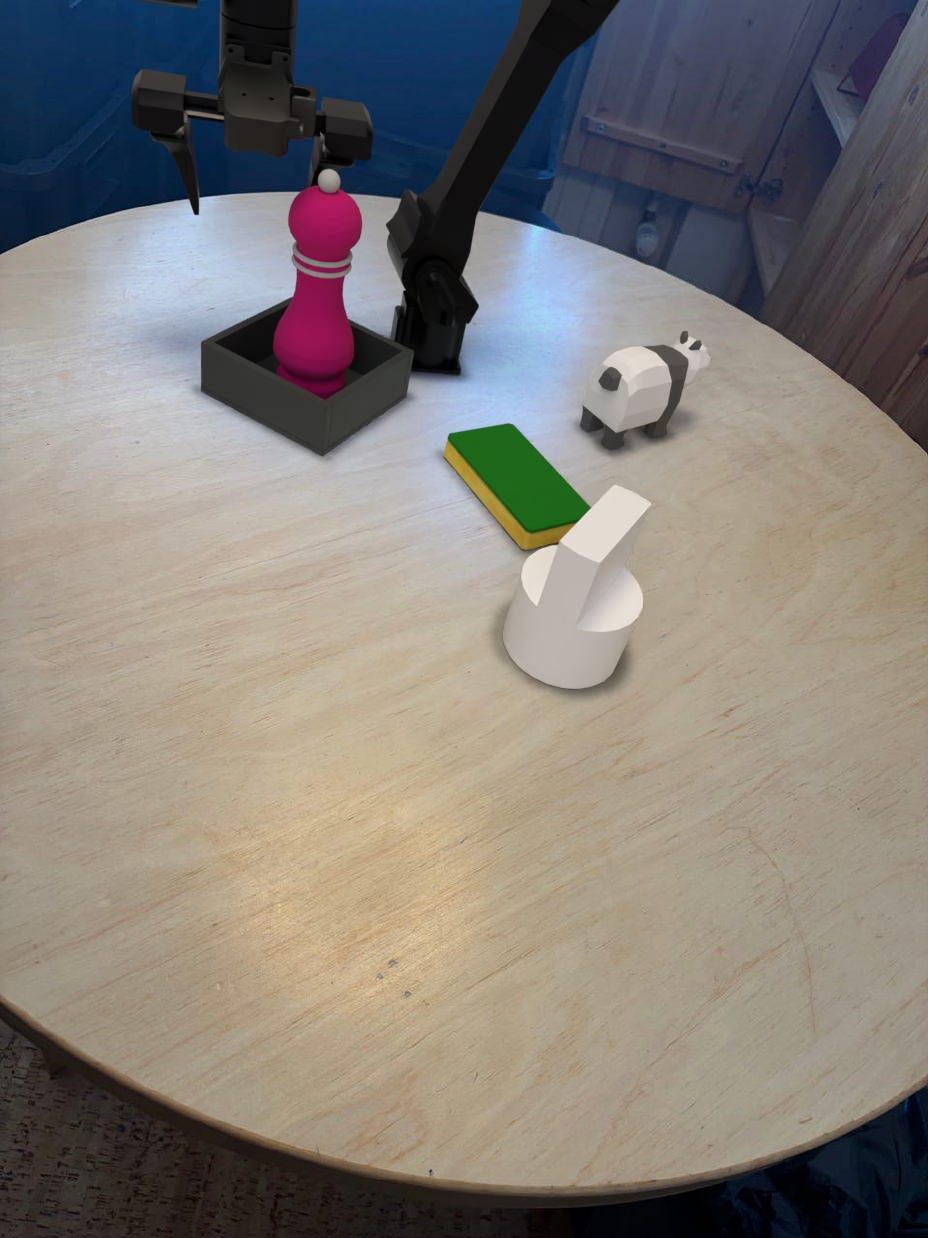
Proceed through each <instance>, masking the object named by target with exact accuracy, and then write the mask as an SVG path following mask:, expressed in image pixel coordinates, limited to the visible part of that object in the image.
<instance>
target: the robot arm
mask: <svg viewBox="0 0 928 1238" xmlns="http://www.w3.org/2000/svg"><path fill="white" fill-rule="evenodd" d="M136 1H137V2H146V3H151V4H159V5H166V6H173V7H180V8H189V9H193V10H197V9H198V3H199V0H136ZM200 1H201V2H202V1H203V2H205V1H206V0H200ZM219 1H220V2H219V3H220V4H219V59H218V60H219V68H218V69H219V70H218V71H219V72H218V74H217V75H218V76H217V77H218V78H217V94H211V93H204V92H197V91H191V90H187V89H188V83H187V75H186V74H185V75H184V74H177V73H172V72H165V71H159V70H154V69H153V70H152V69H146V68H142V69H141V70H140V71H139V72H138V73H137V74H136V75H135V76H134V79H133V84H132V88H131V93H130V108H131V109H130V111H131V126H132V127H133V128H134V129H138V130H141V131H147V132H149V136H150V139H151V140H152V141H154V142H157V143H162V144H163V145H164V147H166V149H167V150H168V151H169V153H170V154H171V156H172V159H173V160H174V163H175V164H176V167H177V169H178V171H179V175H180V177H181V180H182V183H183V186H184V189H185V192H186V195H187V198H188V201H189V204H190V207H191V209H192V213H193V214H194V216H200V185H199V177H198V176H199V175H198V167H197V159H196V158H197V157H196V150H195V142H194V132H193V124H192V123H193V122H192V119H193V120H199V121H205V122H211V123H212V122H213V123H220V124H223V144H224V146H225V147H226V148H227V149H229V150H230V151H232V152H236V153H244V152H252V153H260V154H265V155H268V156H269V157H273V158H282V157H284V156H286V155H287V154H288V151H289V141H290V140H291V141H300V142H303V141H304V140H303V139H307V140H313V139H314V140H313V145H312V150H311V157H310V162H309V168H308V174H307V179H306V185H305V189H306V188H309V187H312V186H319V184H318V177H319V175H320V173H321V172H322V171H323V170H326V169H331V170H334V171H336V172H337V173H338V171H339V170H341V169H342V168H347V169H349V168H350V169H351V168H353V167H354V163H355V161H362V162H365V161H369V160H371V158H372V157H371V156H372V150H373V143H374V142H373V140H374V127H373V124H372V123H373V122H372V119H371V116H370V115H371V114H370V112H369V110H368V109H367V107H366V106H365V104H364V102H359V101H354V100H353V101H352V100H346V99H339V98H332V97H328V96H327V97H326V96H322V99H321V105H320V110H317V108H318V107H317V104H318V92H317V91H318V89H317V88H316V87H315V86H314V87H313V86H306V85H302V84H295V82H294V77H295V75H294V74H295V58H296V42H297V28H298V27H297V24H298V12H299V11H298V9H299V0H219ZM621 1H622V0H520V4H519V9H518V10H519V11H518V17H517V20H516V21H517V22H516V24H515V28H514V30H513V32H512V34H511V36H510V38H509V40H508V41H507V44H506V46H505V47H504V49H503V51H502V53H501V55H500V57H499V59H498V61H497V63H496V64H495V67H494V68H493V70H492V72H491V74H490V76H489V78H488V80H487V82H486V84H485V86H484V87H483V89H482V92H481V93H480V95H479V97H478V99H477V101H476V103H475V104H474V107H473V109H472V111H471V112H470V114H469V117H468V118H467V120H466V122H465V124H464V126H463V128H462V129H461V132H460V133H459V136H458V137H457V138H456V141H455V143H454V145H453V147H452V149H451V151H450V153H449V154H448V156H447V158H446V160H445V162H444V164H443V166H442V168H441V170H440V171H439V174H438V176H437V178H436V179H435V181H434V182H433V183H432V184H431V185H430V186H429V187H428V188H426V189H425V190H424V191H422V192H421V193H420V194H418V195H417V194H416V193H414V191H412V190H410V188H406V189H405V190H404V191H403V193H402V195H401V198H400V202H399V205H398V207H397V210H396V212H395V213H394V215H393V216H392V217H391V219H389V220H388V221H387V222H386V223H385V227H386V229H387V231H388V236H387V238H386V248H387V252H388V255H389V258H390V262H391V263H392V265H393V268H394V270H395V271H396V274H397V276H398V279H399V280H400V282H401V285H402V287H403V289H404V290H403V291H402V296H401V302H400V305H396V306H394V311H393V317H392V324H391V331H390V338H389V339H390V340H393V341H395V342H397V343H399V344H401V345H403V346H405V347H407V348H409V349H411V350H413V351H414V356H413V361H412V367H411V373H413V372H414V373H425V374H436V375H438V374H439V375H449V376H450V375H451V376H460V375H462V367H461V363H460V356H461V351H462V347H463V342H464V337H465V332H466V328H467V325H468V324H470V323H471V322H472V321H473V318H474V317H475V315H476V313H477V311H478V310H479V308H480V305H479V303H478V300H477V299H476V297H475V295H474V293H473V291H472V289H471V288H470V286H469V284H468V283H467V280H466V279H465V277H464V276H463V273H464V270H465V268H466V265H467V263H468V261H469V259H470V256H471V252H472V246H473V240H474V234H475V228H476V227H475V226H476V221H477V217H478V214H479V212H480V210H481V208H482V206H483V205H484V202H485V201H486V199H487V197H488V195H489V194H490V192H491V190H492V189H493V187H494V185H495V183H496V182H497V180H498V178H499V176H500V174H501V172H502V170H503V168H504V167H505V165H506V163H507V161H508V160H509V158H510V156H511V154H512V152H513V151H514V149H515V147H516V145H517V144H518V142H519V140H520V138H521V136H522V134H523V133H524V131H525V129H526V128H527V126H528V124H529V122H530V120H531V118H532V117H533V115H534V113H535V111H536V110H537V108H538V106H539V104H540V102H541V100H542V99H543V97H544V95H545V94H546V92H547V90H548V89H549V87H550V85H551V83H552V81H553V79H554V77H555V76H556V74H557V72H558V70H559V69H560V67H561V65H562V64H563V62H564V61H565V60H566V59H567V58H568V57H569V56H570V55H572V53H574V52H575V51H577V49H579V48H580V47H581V46H583V45H584V44H585V43H586V42H588V40H590V39H591V38H592V37H594V36H595V35H596V34H597V32H598V31H599V29H600V28H601V27H602V26H603V25H604V23H605V22H606V20H607V19H608V18H609V17H610V15H611V14H612V12H613V11H614V10H615V9H616V7H618V5H619V3H620V2H621Z"/></svg>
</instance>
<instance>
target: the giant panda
mask: <svg viewBox="0 0 928 1238" xmlns="http://www.w3.org/2000/svg"><path fill="white" fill-rule="evenodd" d="M712 360H713V357H712V356H711V355H710V354H709V352H708V347H706V346H705V345H704V344H703V343H702V341H701V339H698V340H697V339H696V338H693V337H692V336H690V335H689V332H688V330H683V331H681V334H680V336H679V338H678V339H676V341H675V342H673V343H672V344H671V345H670V346H669V345H665V344H662V343H661V344H657V345H641V346H629V347H626V348H622V349H618V350H617V351H615V352H613V353H612V354H610V355H609V356H608V357H607V358H606V359H604V360H603V361H601V363H600V364H598V365H597V366H596V367H594V369H593V371H592V372H591V374H590V376H589V379H588V380H587V383H586V385H585V387H584V392H583V393H584V395H583V398H582V411H581V412H582V414H581V419H580V425H579V426H580V428H581V430H583V431H585V432H586V433H593V432H594V433H595V432H598V431H600V430H602V429H604V432H603V435H602V438H601V441H600V444H601V445H602V447H603V448H604V449H606V450H608V451H613V450H618V449H621V448H623V447H625V445H626V442H625V440H624V437H625V434H626V433H628V431H629V430H630V429H634V428H637V427H642V426H644V428H643V434H645V435H646V436H647V437H649V438H651V439H657V438H661V437H664V436H667V435H668V430H667V427H668V424H669V422H670V420H671V418H672V417H673V415H674V413H675V411H676V409H677V408H678V406H679V404H680V401H681V399H682V394H683V390H684V389H685V388H687V387H689V386H691V385H693V384H695V383H696V382H699V381H700V380H702V379H703V378H705V376H706V373H707V371H708V368H709V366H710V364H711V363H712Z"/></svg>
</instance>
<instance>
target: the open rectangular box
mask: <svg viewBox="0 0 928 1238" xmlns="http://www.w3.org/2000/svg"><path fill="white" fill-rule="evenodd" d="M292 298H293V296H291V297H288V298H287V299H284V300H282V301H281V302H279V303H277V304H275V305H272V306H270V307H268V308H266V309H264V310H262V311H260V312H258V313H256V314H254V315H252V316H250V317H249V318H246V319H244V320H242V321H240V322H238V323H236V324H233V325H231V326H230V327H228V328H225V329H224V330H221V331H220V332H217V333H215V334H213V335H211V336H209V337H207V338H206V339H203V340H202V341H200V392H202V393H204V394H205V395H207V396H209V397H211V398H213V399H215V400H217V401H218V402H221V403H223V404H224V405H226V406H228V407H230V408H231V409H234V410H235V411H237V412H239V413H241V414H243V415H245V416H247V417H249V418H250V419H252V420H254V421H256V422H258V423H260V424H262V425H264V426H265V427H267V428H269V429H272V430H273V431H274V432H276V433H278V434H280V435H282V436H284V437H286V438H288V439H289V440H292V441H293V442H295V443H297V444H299V445H301V446H303V447H304V448H307V450H310V451H312V452H314V453H316V454H318V455H319V456H321V457H322V456H324V455H325V454H327V453H328V452H330V451H331V450H333V449H334V448H336V447H337V446H339V445H340V444H342V442H344V441H345V440H347V439H348V438H350V437H351V436H353V435H354V434H356V433H357V432H359V431H360V430H361V429H363V428H364V427H366V426H367V425H368V424H370V423H371V422H373V421H374V420H376V419H377V418H379V417H380V416H382V414H384V413H386V412H387V411H388V410H390V409H391V408H393V407H395V406H396V405H398V403H400V402H401V401H403V400H404V399H406V398H407V397H408V396H407V395H408V390H409V383H410V378H411V373H412V371H411V367H412V361H413V356H414V351H413V350H411V349H409V348H407V347H405V346H403V345H401V344H399V343H397V342H395V341H393V340H390V338H388V337H386V336H384V335H383V334H380V333H378V332H377V331H374V330H372V329H370V328H368V327H366V326H364V325H362V324H360V323H358V322H356V321H353V320H352V319H349V318H348V320H349V323H350V326H351V329H352V334H353V339H354V357H353V361H352V363H351V365H350V366H349V367H348V369H346V370H345V371H344V374H345V387H344V388H343V389H342V390H340V391H339V392H337V393H336V394H334V395H332V396H331V397H329V398H328V399H326V400H324V399H322V398H320V397H319V396H317V395H315V394H313V393H311V392H309V391H307V390H305V389H303V388H301V387H299V386H297V385H295V384H293V383H291V382H290V381H288V380H286V379H284V378H282V377H280V376H278V375H277V368H278V366H279V364H280V363H279V361H278V360H277V358H276V356H275V354H274V351H273V342H274V335H275V331H276V328H277V326H278V323H279V321H280V319H281V318H282V316H283V314H284V313H285V311H286V309H287V308H288V306H289V304H290V302H291V301H292Z"/></svg>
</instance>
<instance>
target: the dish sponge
mask: <svg viewBox="0 0 928 1238" xmlns="http://www.w3.org/2000/svg"><path fill="white" fill-rule="evenodd" d="M445 443H446V444H445V448H444V453H443V457H444V458H445V459H446V460H447V462H448V463H449V464H450V465H451V466H452V467H453V469H454V470H455V471H456V472H457V474H458V475H459V476H460V478H462V480H463V481H464V482H465V483H466V484H467V486H468V487H469V488H470V489H471V491H473V493H474V494H475V496H477V498H478V499H479V500H480V501H481V502H482V504H483V505H484V506H485V507H486V509H487V510H488V511H489V512H490V513H491V514H492V515H493V517H494V518H495V519H496V520H497V521H498V523H499V524H500V525H501V526H502V528H503V529H504V530H505V531H506V532H507V534H508V535H509V536H510V537H511V538H512V539H513V541H514V542H515V543H516V545H518V546H519V548H520V549H522V550H525V551H529V550H533V549H536V548H540V547H544V546H549V545H552V544H557V543H559V542H560V540H561V539H562V538H563V537H564V536H565V535H566V534H567V533H568V532H569V531H570V530H571V529H572V528H573V526H574V525H575V524H576V523H577V522H578V521H579V520H580V519H581V518H582V517H583V516H584V515H585V514H586V513H587V512H588V511H589V510H590V509H591V508H592V506H591V505H589V504H588V502H587V501H586V500H585V499H584V498H583V497H582V496H581V495H580V494H579V492H577V491H576V489H574V487H573V486H571V484H570V483H569V482H568V481H567V480H566V479H565V478H564V477H563V476H562V475H561V474H560V472H558V470H557V469H556V468H555V467H554V466H553V465H552V464H551V463H550V462H549V461H548V460H547V459H546V458H545V456H544V455H543V454H542V453H541V452H540V451H539V450H538V449H537V448H536V447H535V446H534V445H533V444H532V443H531V442H530V441H529V439H528V438H527V437H526V436H525V435H524V434H523V433H522V432H521V431H520V429H518V428H517V427H516V425H515V424H513V423H510V422H507V423H502V424H501V423H500V424H496V425H490V426H489V425H488V426H483V427H479V428H478V427H477V428H473V429H466V430H462V431H456V432H449V433H448V435H447V441H446V442H445Z"/></svg>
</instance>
